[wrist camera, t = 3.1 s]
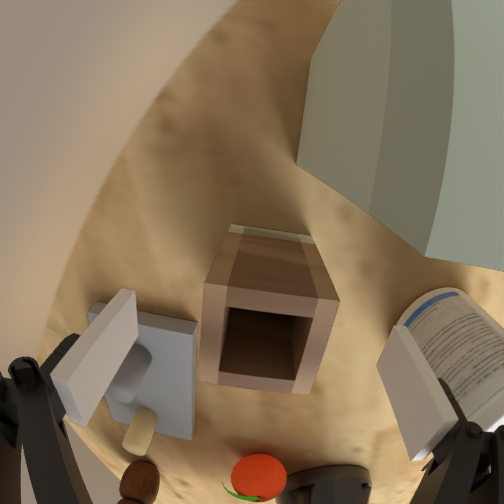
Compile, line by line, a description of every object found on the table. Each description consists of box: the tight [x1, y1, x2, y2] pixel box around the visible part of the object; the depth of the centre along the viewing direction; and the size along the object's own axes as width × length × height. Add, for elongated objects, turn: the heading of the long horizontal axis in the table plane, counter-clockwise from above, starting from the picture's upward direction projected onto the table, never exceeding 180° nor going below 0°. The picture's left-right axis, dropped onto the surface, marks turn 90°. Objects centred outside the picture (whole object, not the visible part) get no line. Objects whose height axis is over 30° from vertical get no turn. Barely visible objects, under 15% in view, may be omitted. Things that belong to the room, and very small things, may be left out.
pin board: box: [87, 301, 198, 456], centre depth 25 cm, size 16×10×7 cm, turn 173°
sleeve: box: [199, 224, 340, 394], centre depth 19 cm, size 6×6×10 cm
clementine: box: [222, 454, 287, 502], centre depth 29 cm, size 8×7×7 cm
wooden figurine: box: [117, 461, 160, 504], centre depth 29 cm, size 7×6×15 cm
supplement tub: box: [396, 287, 504, 432], centre depth 18 cm, size 10×10×15 cm
